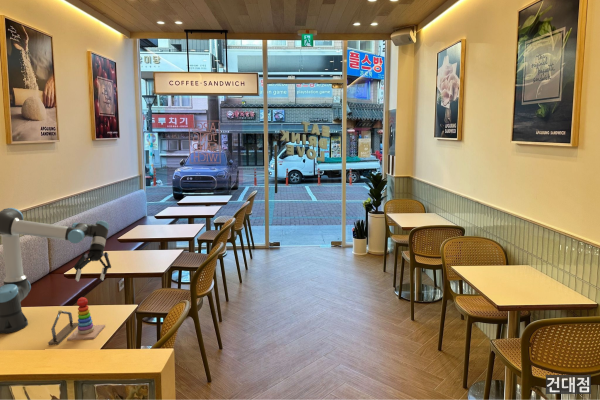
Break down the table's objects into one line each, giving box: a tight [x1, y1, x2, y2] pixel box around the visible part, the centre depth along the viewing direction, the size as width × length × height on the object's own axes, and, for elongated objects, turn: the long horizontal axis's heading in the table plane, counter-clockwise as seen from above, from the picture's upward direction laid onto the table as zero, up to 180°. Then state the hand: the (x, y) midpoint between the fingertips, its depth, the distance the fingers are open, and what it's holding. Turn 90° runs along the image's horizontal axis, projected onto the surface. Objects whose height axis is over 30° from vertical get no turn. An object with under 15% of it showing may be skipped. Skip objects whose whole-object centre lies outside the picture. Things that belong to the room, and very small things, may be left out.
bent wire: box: [47, 309, 78, 346], centre depth 244 cm, size 22×5×14 cm, turn 1°
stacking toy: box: [76, 296, 94, 334], centre depth 244 cm, size 8×8×19 cm
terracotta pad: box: [66, 324, 106, 341], centre depth 246 cm, size 14×14×1 cm
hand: (89, 280), depth 256 cm, fingers open, 13 cm apart
